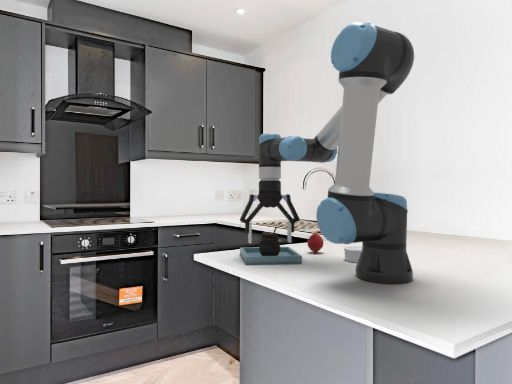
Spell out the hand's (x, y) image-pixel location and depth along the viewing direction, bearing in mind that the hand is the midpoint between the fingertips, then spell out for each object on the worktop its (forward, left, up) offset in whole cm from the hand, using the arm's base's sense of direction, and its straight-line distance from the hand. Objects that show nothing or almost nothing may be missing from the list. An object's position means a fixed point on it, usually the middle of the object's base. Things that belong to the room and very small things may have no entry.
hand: (269, 242), depth 134 cm
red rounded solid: (+9, -19, -6) cm, 22 cm away
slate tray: (0, 0, -6) cm, 6 cm away
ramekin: (-6, -29, -6) cm, 30 cm away
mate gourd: (0, 0, -5) cm, 5 cm away
